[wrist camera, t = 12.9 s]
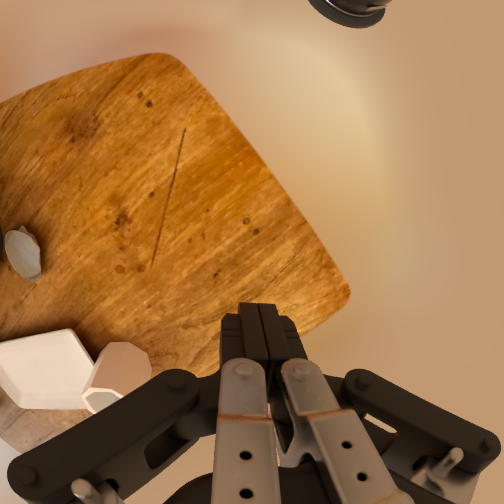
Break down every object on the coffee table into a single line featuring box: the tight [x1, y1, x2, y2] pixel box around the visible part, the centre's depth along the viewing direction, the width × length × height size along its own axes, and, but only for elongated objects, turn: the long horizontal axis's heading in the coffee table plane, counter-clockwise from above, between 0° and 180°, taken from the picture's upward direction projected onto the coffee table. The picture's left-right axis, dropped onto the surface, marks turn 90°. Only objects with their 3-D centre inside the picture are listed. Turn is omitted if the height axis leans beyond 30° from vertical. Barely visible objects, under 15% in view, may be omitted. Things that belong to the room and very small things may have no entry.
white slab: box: [0, 328, 95, 409], centre depth 36 cm, size 17×32×4 cm, turn 105°
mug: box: [81, 342, 152, 414], centre depth 35 cm, size 12×9×10 cm
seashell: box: [4, 226, 41, 281], centre depth 30 cm, size 8×3×8 cm
